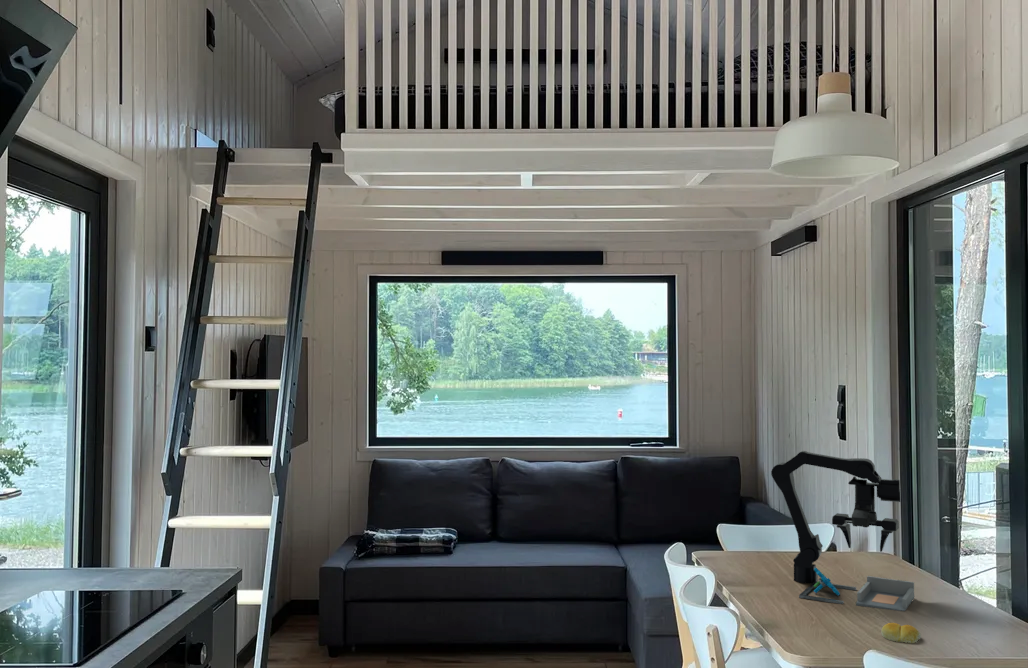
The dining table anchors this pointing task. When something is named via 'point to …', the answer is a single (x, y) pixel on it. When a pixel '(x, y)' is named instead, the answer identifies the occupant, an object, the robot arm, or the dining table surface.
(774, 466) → the robot arm
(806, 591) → the frame
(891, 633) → the bread roll
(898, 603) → the grey open tray
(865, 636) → the dining table surface
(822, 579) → the gear
